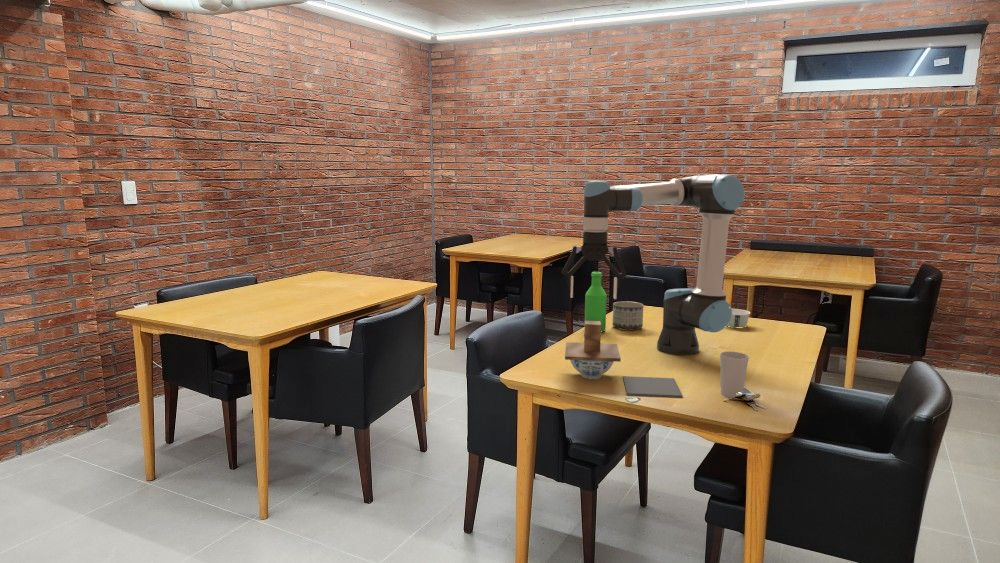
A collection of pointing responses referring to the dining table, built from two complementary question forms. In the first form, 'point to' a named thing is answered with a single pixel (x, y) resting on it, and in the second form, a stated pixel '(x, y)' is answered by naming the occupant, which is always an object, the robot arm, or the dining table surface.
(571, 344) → the lid
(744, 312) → the food container
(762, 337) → the dining table surface
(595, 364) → the chinaware
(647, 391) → the mat
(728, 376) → the cup
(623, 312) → the planter
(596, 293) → the bottle
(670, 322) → the robot arm
